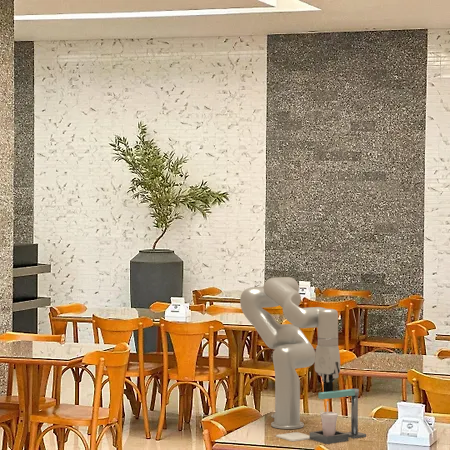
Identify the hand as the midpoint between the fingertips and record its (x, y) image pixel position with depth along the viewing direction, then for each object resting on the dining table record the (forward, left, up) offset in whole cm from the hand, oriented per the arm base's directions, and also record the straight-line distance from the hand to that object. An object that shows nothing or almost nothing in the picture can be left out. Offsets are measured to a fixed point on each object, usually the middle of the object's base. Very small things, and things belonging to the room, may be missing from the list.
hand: (328, 392), depth 369 cm
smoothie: (+4, -3, -17) cm, 17 cm away
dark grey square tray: (+4, -3, -16) cm, 17 cm away
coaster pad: (-6, -11, -16) cm, 20 cm away
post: (+4, +9, -16) cm, 19 cm away
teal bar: (+4, +2, -1) cm, 5 cm away
